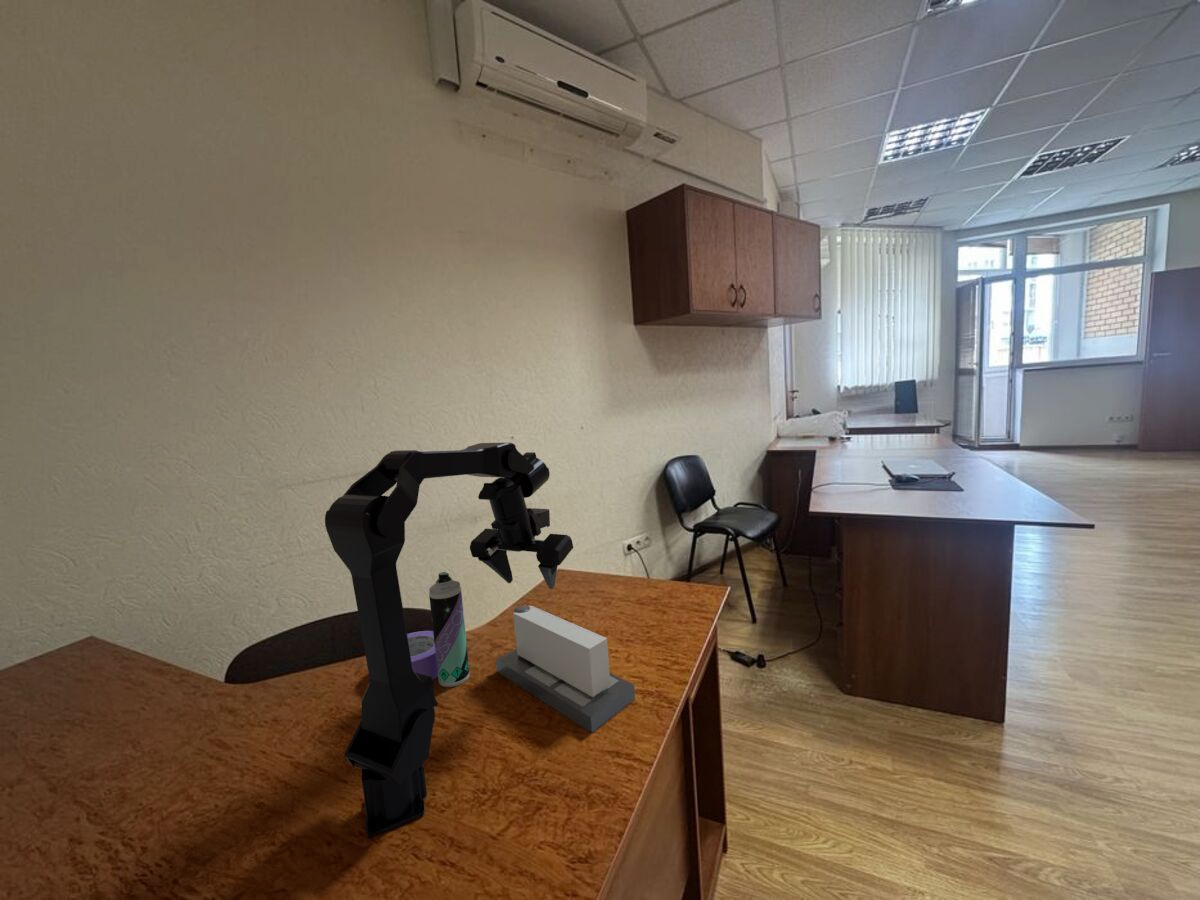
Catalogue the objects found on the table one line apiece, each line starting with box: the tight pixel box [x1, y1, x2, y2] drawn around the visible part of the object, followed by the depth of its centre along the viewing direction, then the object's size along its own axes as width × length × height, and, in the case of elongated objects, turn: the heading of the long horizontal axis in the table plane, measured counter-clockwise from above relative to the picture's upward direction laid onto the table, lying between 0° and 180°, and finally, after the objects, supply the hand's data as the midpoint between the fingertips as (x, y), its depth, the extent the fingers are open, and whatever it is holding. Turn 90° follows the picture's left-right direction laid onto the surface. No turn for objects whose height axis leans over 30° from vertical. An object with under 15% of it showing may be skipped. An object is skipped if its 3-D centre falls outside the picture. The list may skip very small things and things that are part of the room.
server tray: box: [495, 648, 636, 734], centre depth 82 cm, size 10×25×3 cm, turn 46°
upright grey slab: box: [513, 605, 611, 697], centre depth 81 cm, size 22×4×8 cm, turn 46°
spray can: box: [428, 571, 471, 688], centre depth 85 cm, size 6×6×20 cm
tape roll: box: [407, 630, 438, 681], centre depth 89 cm, size 12×12×5 cm
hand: (531, 584), depth 86 cm, fingers open, 9 cm apart
